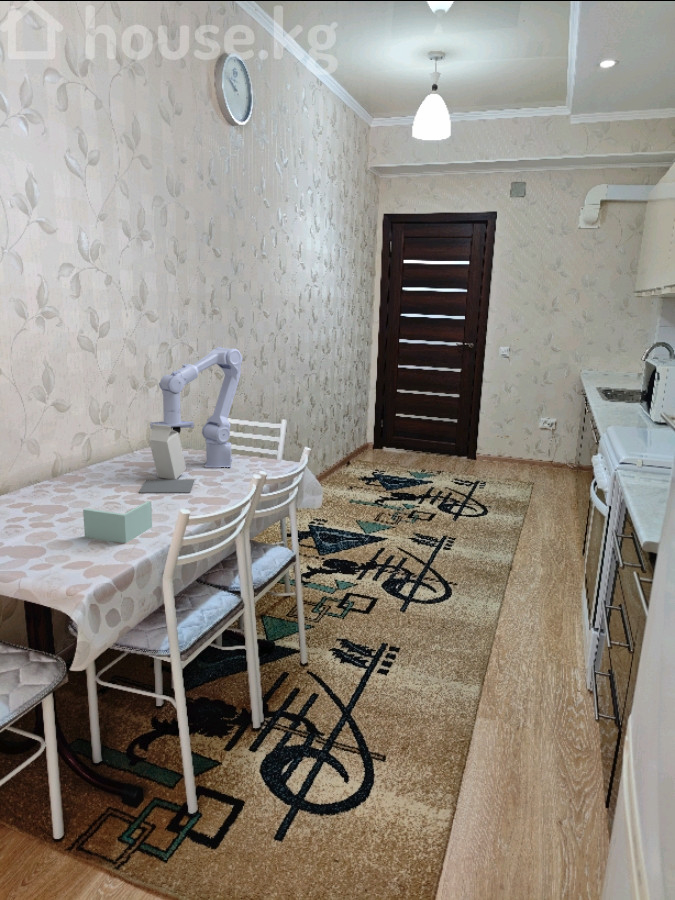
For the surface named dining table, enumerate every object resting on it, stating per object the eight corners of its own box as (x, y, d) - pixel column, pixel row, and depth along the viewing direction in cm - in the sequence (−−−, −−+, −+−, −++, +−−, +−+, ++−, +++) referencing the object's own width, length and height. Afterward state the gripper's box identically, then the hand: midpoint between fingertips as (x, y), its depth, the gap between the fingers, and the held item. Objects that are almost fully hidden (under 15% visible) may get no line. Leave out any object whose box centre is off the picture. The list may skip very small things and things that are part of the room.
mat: (194, 480, 203) (194, 479, 203) (190, 493, 190) (190, 491, 190) (146, 480, 201) (146, 479, 201) (138, 493, 188) (138, 492, 187)
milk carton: (175, 480, 203) (164, 431, 193) (157, 477, 205) (146, 429, 195) (186, 469, 208) (176, 421, 199) (169, 467, 211) (158, 419, 201)
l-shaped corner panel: (152, 527, 160) (151, 501, 159) (125, 543, 149) (124, 515, 147) (113, 521, 163) (112, 495, 162) (84, 537, 152) (83, 509, 150)
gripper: (192, 407, 210) (193, 444, 213) (149, 408, 206) (150, 446, 209) (194, 411, 204) (194, 449, 207) (150, 411, 199) (151, 451, 202)
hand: (172, 448), depth 207 cm, fingers closed
